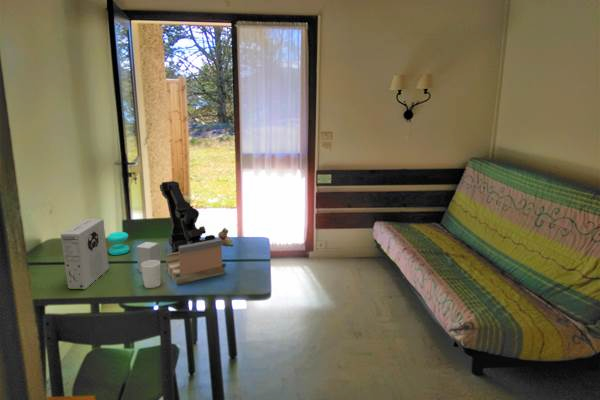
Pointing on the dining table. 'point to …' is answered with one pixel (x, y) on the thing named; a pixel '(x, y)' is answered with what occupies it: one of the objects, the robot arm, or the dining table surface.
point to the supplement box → (147, 253)
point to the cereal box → (85, 253)
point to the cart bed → (174, 272)
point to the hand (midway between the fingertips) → (199, 260)
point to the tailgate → (200, 256)
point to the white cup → (151, 273)
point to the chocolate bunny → (225, 238)
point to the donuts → (118, 248)
